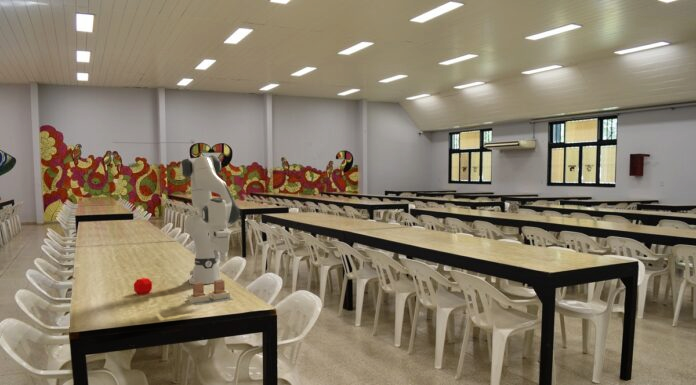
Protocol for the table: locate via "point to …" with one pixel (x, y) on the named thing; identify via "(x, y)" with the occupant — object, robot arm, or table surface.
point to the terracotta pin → (219, 286)
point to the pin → (198, 289)
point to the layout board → (209, 298)
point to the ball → (142, 286)
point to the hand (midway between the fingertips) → (219, 259)
